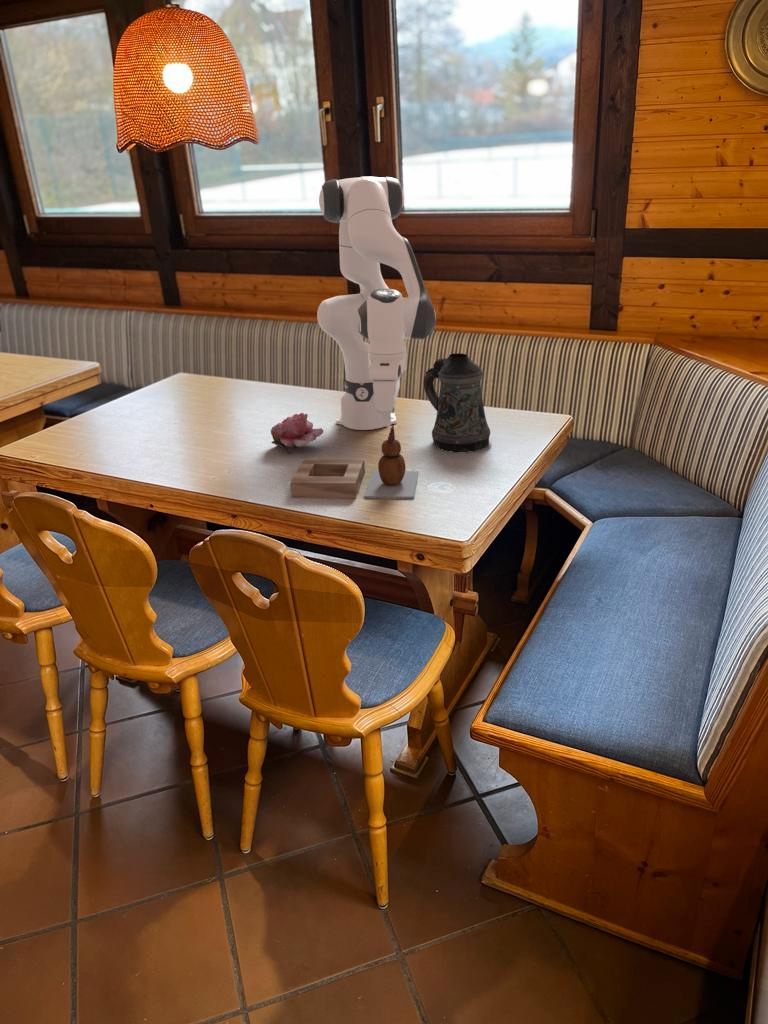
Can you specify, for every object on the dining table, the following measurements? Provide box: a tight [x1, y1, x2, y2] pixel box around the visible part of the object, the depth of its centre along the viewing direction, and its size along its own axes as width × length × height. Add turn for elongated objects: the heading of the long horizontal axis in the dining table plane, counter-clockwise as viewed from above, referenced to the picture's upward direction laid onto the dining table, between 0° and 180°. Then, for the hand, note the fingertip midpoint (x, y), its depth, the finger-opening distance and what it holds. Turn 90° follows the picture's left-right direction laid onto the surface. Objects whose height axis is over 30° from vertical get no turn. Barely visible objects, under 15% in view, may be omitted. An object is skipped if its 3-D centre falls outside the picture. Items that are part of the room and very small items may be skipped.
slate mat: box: [363, 470, 420, 500], centre depth 189 cm, size 16×12×1 cm
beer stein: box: [423, 352, 491, 453], centre depth 210 cm, size 16×19×25 cm
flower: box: [270, 412, 324, 454], centre depth 214 cm, size 15×15×10 cm
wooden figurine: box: [377, 424, 406, 486], centre depth 186 cm, size 7×6×15 cm
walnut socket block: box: [289, 457, 366, 499], centre depth 190 cm, size 16×16×4 cm
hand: (389, 418), depth 182 cm, fingers open, 8 cm apart
